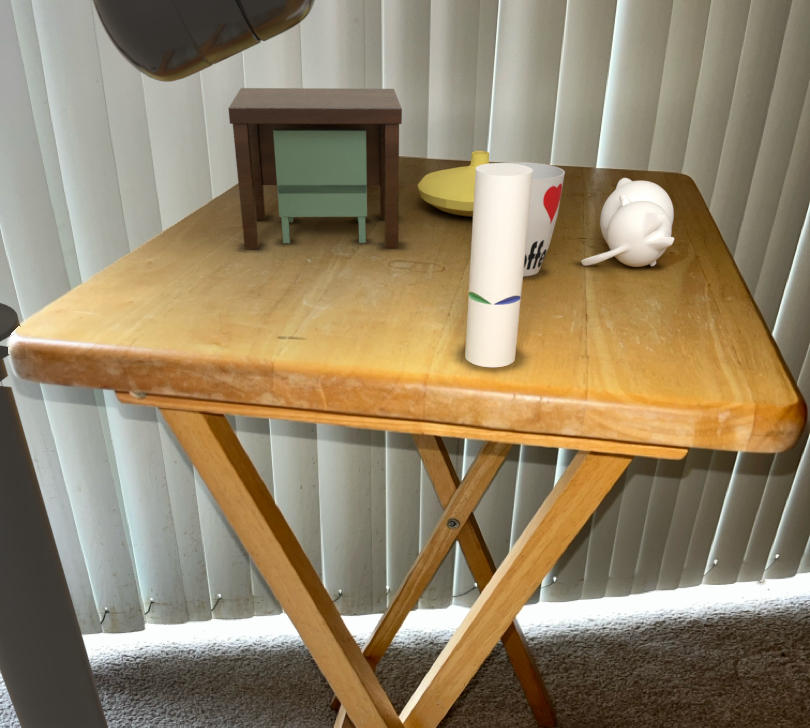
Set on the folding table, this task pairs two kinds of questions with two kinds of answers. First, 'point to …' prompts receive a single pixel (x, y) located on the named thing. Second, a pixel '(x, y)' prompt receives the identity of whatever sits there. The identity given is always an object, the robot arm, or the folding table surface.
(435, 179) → the vase
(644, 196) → the cat figurine
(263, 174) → the desk
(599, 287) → the folding table surface
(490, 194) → the tube
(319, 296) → the folding table surface
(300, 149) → the chair
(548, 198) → the cup
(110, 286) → the folding table surface
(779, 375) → the folding table surface
